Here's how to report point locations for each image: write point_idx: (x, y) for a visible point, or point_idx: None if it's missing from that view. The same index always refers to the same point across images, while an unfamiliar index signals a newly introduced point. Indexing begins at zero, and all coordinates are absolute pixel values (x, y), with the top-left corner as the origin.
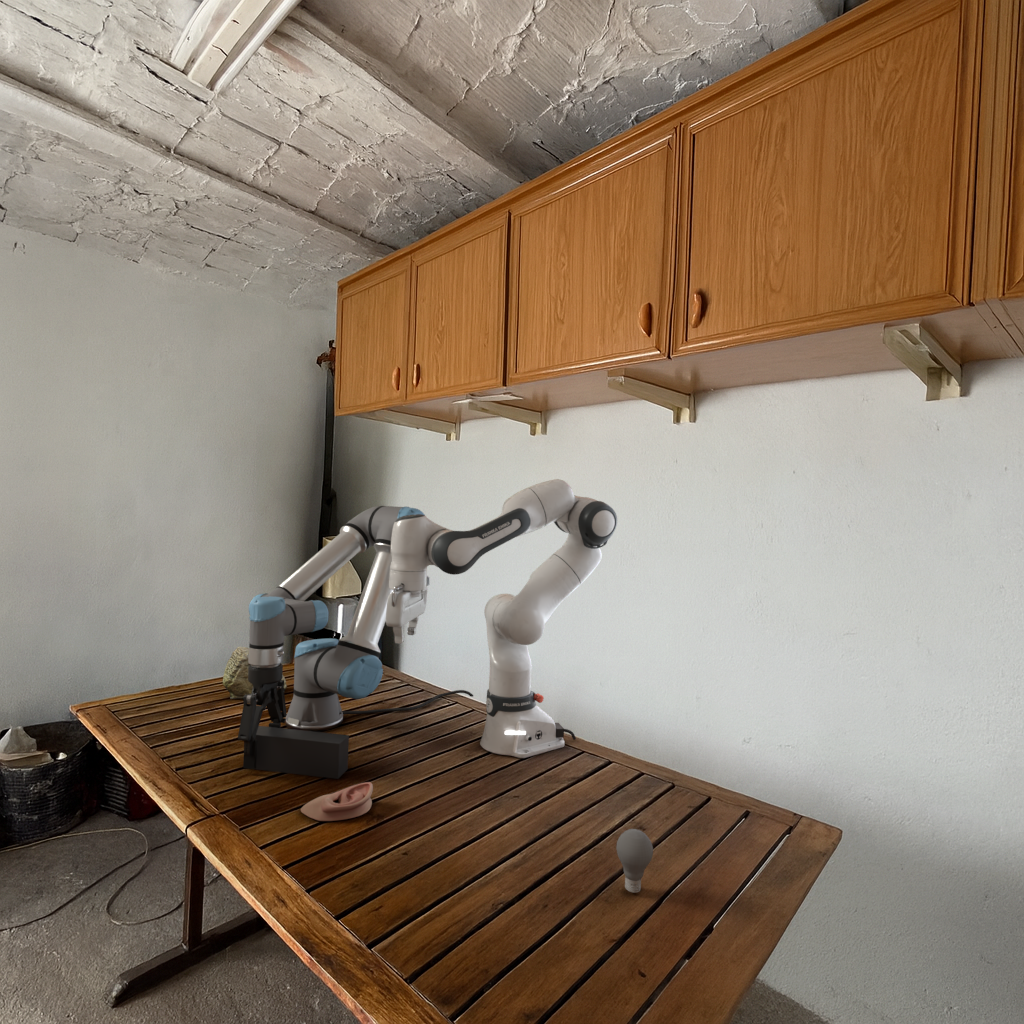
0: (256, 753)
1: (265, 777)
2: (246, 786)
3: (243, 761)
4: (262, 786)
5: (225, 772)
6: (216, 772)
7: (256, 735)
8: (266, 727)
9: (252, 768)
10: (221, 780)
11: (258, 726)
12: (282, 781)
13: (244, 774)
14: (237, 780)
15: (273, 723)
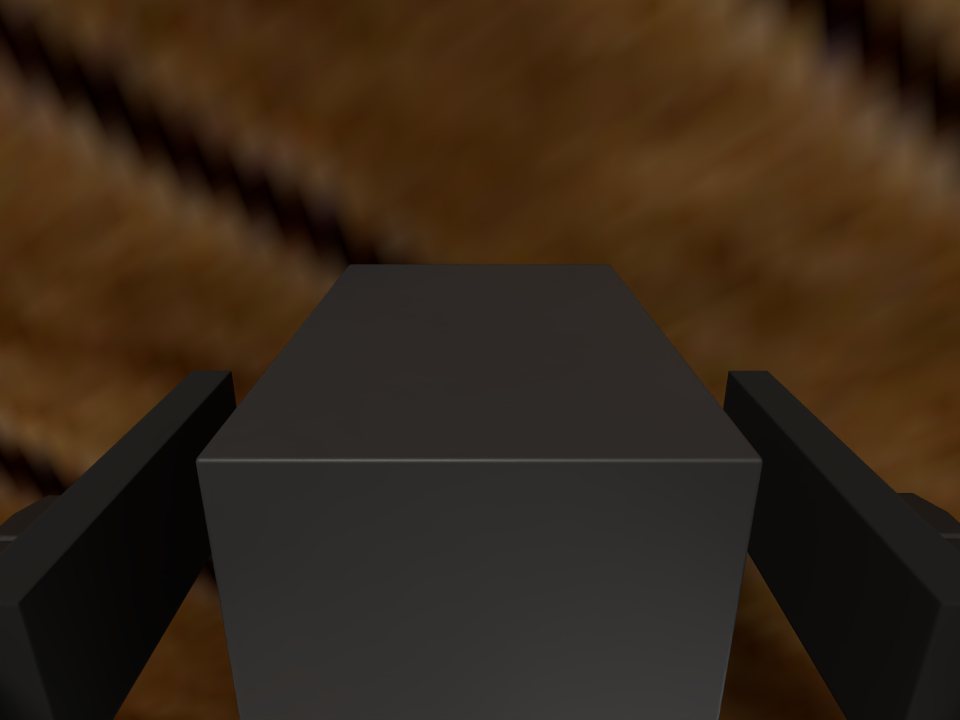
0: (175, 602)
1: None
2: (23, 505)
3: (334, 284)
4: None
5: (185, 136)
6: (141, 26)
7: (238, 692)
8: (675, 681)
9: None
10: (6, 216)
11: (707, 516)
12: (230, 701)
13: (223, 359)
14: (83, 369)
15: (958, 674)
